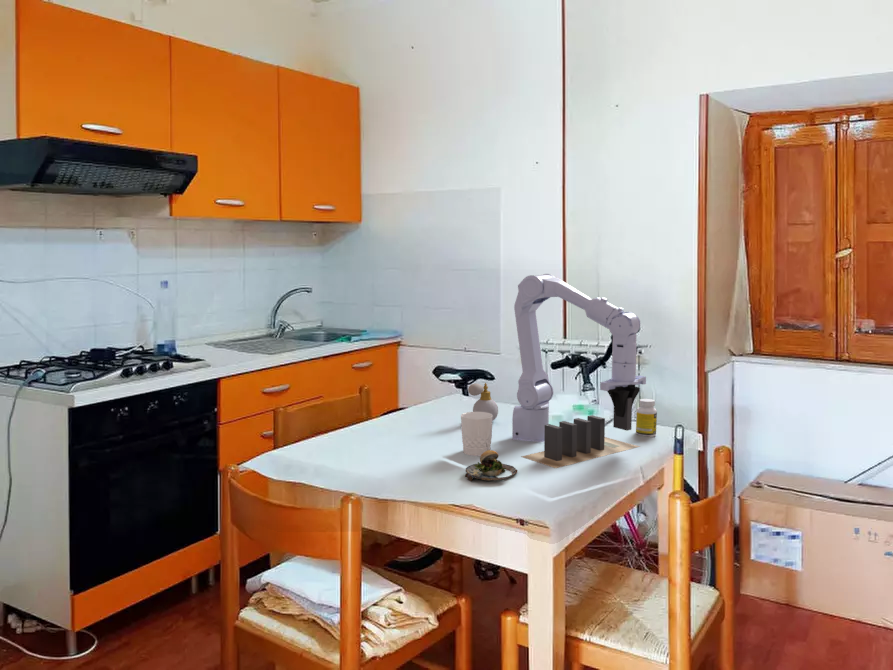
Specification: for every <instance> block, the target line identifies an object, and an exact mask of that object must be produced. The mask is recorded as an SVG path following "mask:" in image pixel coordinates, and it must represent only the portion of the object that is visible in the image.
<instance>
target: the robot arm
mask: <svg viewBox="0 0 893 670" xmlns="http://www.w3.org/2000/svg"><path fill="white" fill-rule="evenodd" d="M517 290H518V292H517V295H516V298H515V303H514V306H513V308H514V316H515V324H516V331H517V338H518V347H519V348H518V349H519V353H520V362H521V369H522V370H521V371H522V373H521V375H520V376H519V379H518V381H517V382H518V383H517V384H518V390H517V392H516V399H517V401H518V403H519V405H515V406H514V407H513V410H512V419H511V420H512V421H511V423H512V425H511V426H512V427H511V428H512V434H511V435H512V437H511V440H512V441H513V440H514V441H525V442H535V443H544V435H545V425H547V424H550V423H549V419H550V417H549V416H550V415H549V413H550V410H549V409H550V408H549V407H550V401H551V400H552V398H553V397H554V387H553V385H552V384H551V381H550V378H549V374H547V372H546V371H545V370H544V366H543V360H542V352H541V351H542V350H541V344H540V336H539V329H538V328H539V327H538V321H537V320H538V319H537V313H536V312H537V310H538V309H539V308H540V306H541V305H542V304H543V303H544V302H545V301H547V300H550V298H560V299H561V300H563V301H566V302H568V303H570V304H572V305H573V306H576V307H577V308H579V309H581V310H584V312H585V315H586V317H587V318H589V319H590V320H591V321H594V322H596V323H597V324H599V325H600V326H602V327H604V328H605V329H607V330H609V332H610V334H611V336H612V352H611V353H612V356H611V357H612V358H611V378H609V379H606V380H604V381H600V385H599V387H600V389H599V390H600V391H604V392H607V394H608V395H609V397H610V399H611V401H612V404H613V410H614V409H615V413H616V416H619V417H624V414H625V405H626V400H627V397H630V398H632V406H634V405H633V404H634V401H635V399H637V398H636V397H637V396H638V394H639V393H640V391H641V390H640V389H641V388H640V387H639V386H637V385H646V384H647V376H644V375H637V374H636V373H637V371H636V370H637V369H636V368H637V333H638V331H639V330H640V329H641V320H640V318H639V317H638V315H637V314H635V313H634V312H633V311H624V310H625V309H624V308H623V307H617V306H616V305H613V304H612V303H610V302H608V300H609V299H608V298H606V297H605V296H604V297H595V298H591V297H590V296H588V295H587V294H585V293H583V292H581V291H580V290H578V289H577V288H575V287H574V286H572V285H570V284H568V283H567V282H565V281H564V280H562V279H561V278H559V277H557V276H556V277H555V276H554V275H553V274H551V273H544V274H536V275H530V274H529V275H526V276H525V277H524V278H523V279H522V280H521V281H520V283H519V284H518V285H517Z"/></svg>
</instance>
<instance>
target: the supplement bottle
mask: <svg viewBox="0 0 893 670" xmlns="http://www.w3.org/2000/svg"><path fill="white" fill-rule="evenodd" d="M638 403H639V406H638V407H637V408H636V416H635V418H636V420H635V422H636V423H635V434H636V435H639V436H644V437H650V438H654V437H656V436H657V420H658V419H657V418H658V417H657V415H658V411H657V409H656V407H655V405H656V404H655V399H652V398H639V402H638Z"/></svg>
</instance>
